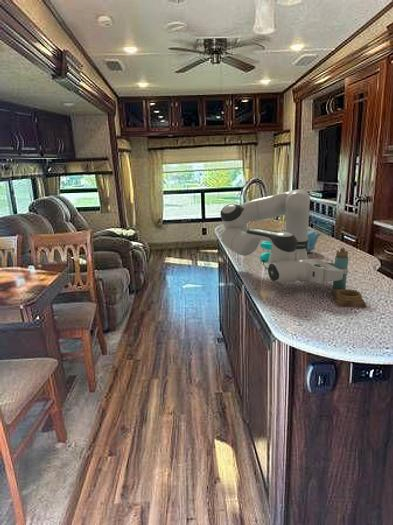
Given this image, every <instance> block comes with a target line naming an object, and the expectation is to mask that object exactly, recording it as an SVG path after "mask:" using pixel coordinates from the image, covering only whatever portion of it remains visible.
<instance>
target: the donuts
mask: <svg viewBox="0 0 393 525" xmlns="http://www.w3.org/2000/svg"><path fill="white" fill-rule="evenodd" d="M259 244H260V248H261V249H263V250H269V251H270V250H272V244H271V242H270V241H266V240H263V241H261V242H260V243H259ZM270 254H271V252H263V253H262V254H260V256H259V259H260V260H261V261H263V260H264V262H266V261H269V256H270Z"/></svg>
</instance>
